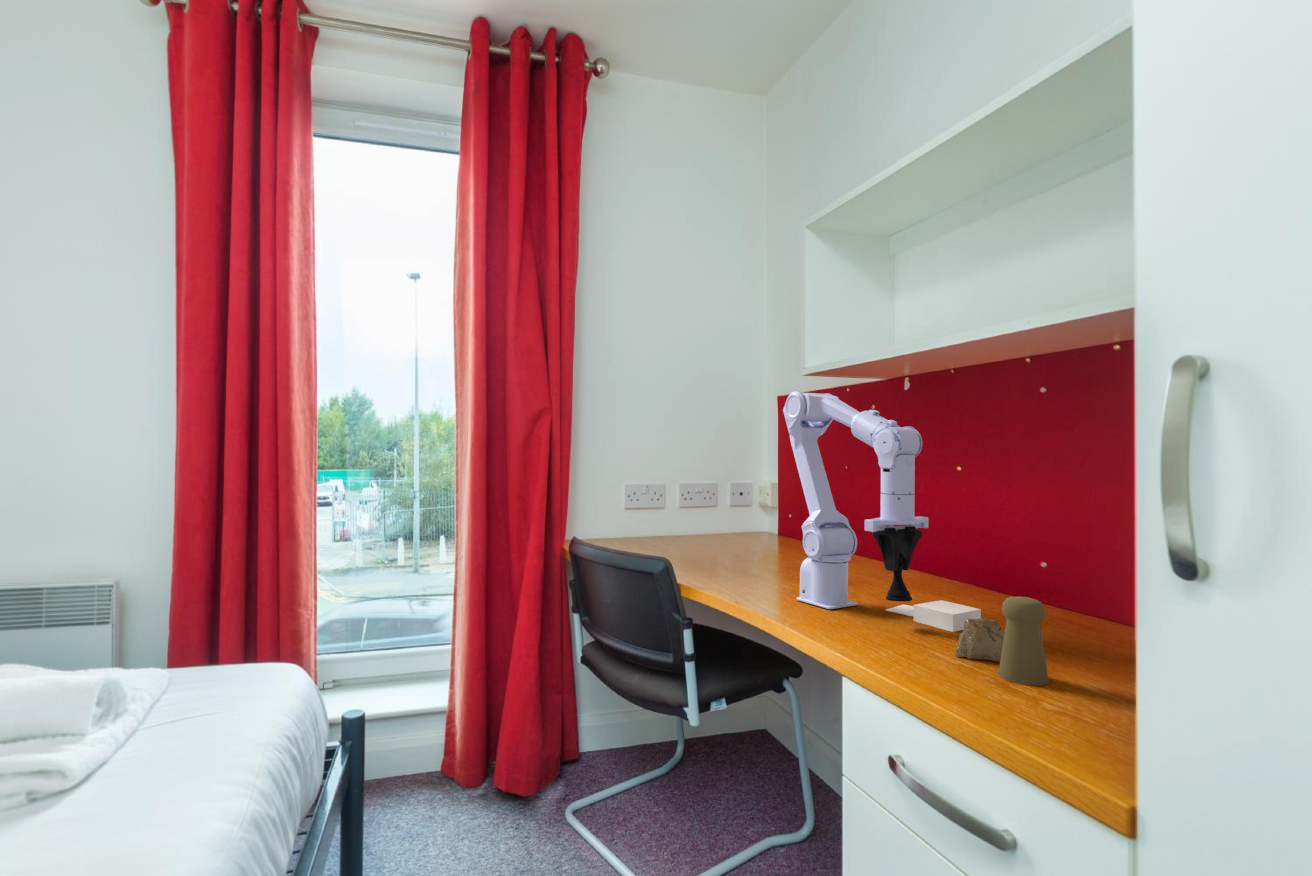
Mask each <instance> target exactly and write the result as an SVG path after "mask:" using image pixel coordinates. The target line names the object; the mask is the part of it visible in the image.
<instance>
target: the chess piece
mask: <svg viewBox="0 0 1312 876" xmlns="http://www.w3.org/2000/svg"><path fill="white" fill-rule="evenodd" d="M903 558H904V556H903V554H902V553H901V552H900V554H899V567H898V571H897V572H893V571H892V572H893V578H892V583H891V584H890V586H889V589H888V591H887V593H886V597H885V600H887V601H891V602H911V601H913V598H912V596H911V593H910V591H909V590H908V588H907V586H906V584H905V582H904V580H903V573H902V572H903V570H902V569H903V567H904V564H903V562H902V561H903Z"/></svg>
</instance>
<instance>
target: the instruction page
mask: <svg viewBox="0 0 1312 876" xmlns="http://www.w3.org/2000/svg"><path fill="white" fill-rule="evenodd" d="M885 612H890V613H894V614H900V615H904V616H908V617H913V618H914V605H907V604H901V605H897V606H893V607H890V608H886V609H885Z"/></svg>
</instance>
